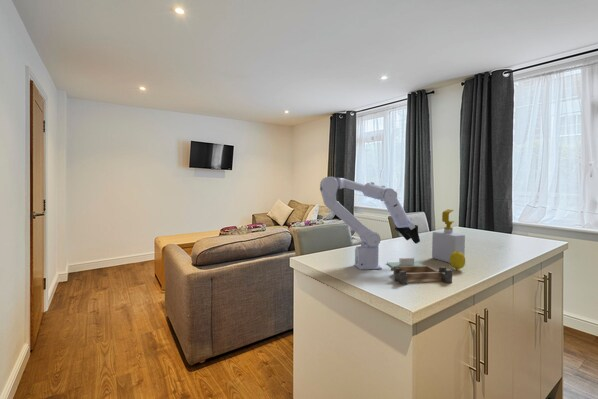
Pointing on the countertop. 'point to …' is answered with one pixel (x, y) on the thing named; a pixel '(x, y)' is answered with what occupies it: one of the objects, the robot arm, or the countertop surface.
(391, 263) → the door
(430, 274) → the brown wooden tray
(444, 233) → the soap bottle
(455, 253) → the lemon
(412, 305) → the countertop surface
